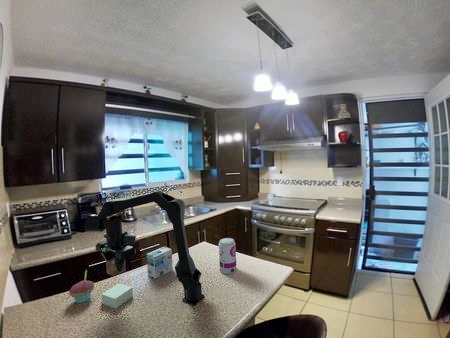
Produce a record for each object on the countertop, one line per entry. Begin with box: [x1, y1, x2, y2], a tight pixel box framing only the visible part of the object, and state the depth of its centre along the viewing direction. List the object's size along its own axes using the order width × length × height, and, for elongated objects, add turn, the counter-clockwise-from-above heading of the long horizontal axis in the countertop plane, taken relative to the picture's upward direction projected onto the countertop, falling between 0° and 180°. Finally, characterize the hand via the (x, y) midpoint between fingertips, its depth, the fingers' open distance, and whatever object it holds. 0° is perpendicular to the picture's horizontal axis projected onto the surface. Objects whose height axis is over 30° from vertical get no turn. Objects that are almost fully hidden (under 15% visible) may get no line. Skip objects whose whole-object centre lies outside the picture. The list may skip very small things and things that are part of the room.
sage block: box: [101, 283, 134, 309], centre depth 87 cm, size 8×8×4 cm
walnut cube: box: [105, 258, 127, 277], centre depth 86 cm, size 5×5×5 cm
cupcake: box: [68, 268, 95, 304], centre depth 88 cm, size 9×8×12 cm
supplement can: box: [218, 237, 238, 275], centre depth 106 cm, size 8×8×15 cm
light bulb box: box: [146, 246, 174, 280], centre depth 107 cm, size 11×7×11 cm, turn 143°
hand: (116, 269), depth 86 cm, fingers closed on walnut cube, 5 cm apart
